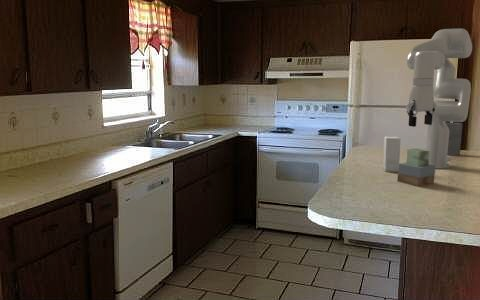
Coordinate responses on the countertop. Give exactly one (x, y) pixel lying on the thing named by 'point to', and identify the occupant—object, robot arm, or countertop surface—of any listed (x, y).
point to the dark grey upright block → (454, 138)
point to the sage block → (418, 157)
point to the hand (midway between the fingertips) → (420, 125)
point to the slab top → (417, 170)
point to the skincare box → (391, 154)
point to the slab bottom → (415, 180)
